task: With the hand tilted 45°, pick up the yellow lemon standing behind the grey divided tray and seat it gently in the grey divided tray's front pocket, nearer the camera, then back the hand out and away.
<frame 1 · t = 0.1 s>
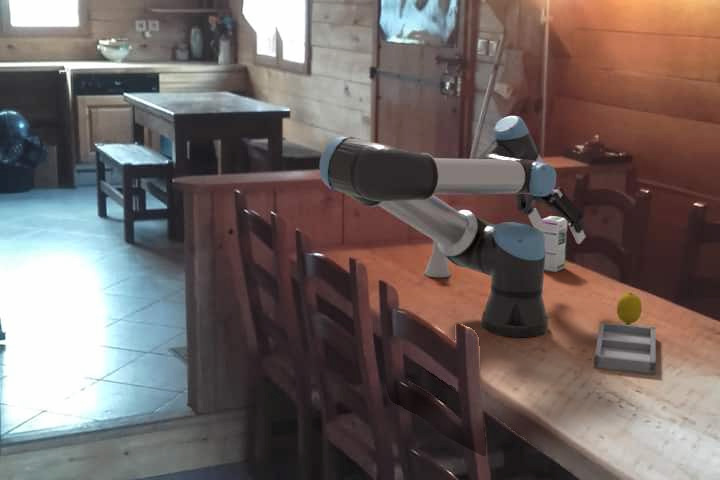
hand: (560, 235, 248), 15 cm above the table, tool tilted 35°, fingers open, 13 cm apart
grey divided tray: (625, 352, 209), on the table
flask: (437, 275, 266), on the table
lemon: (627, 325, 227), on the table
syrup box: (551, 269, 274), on the table
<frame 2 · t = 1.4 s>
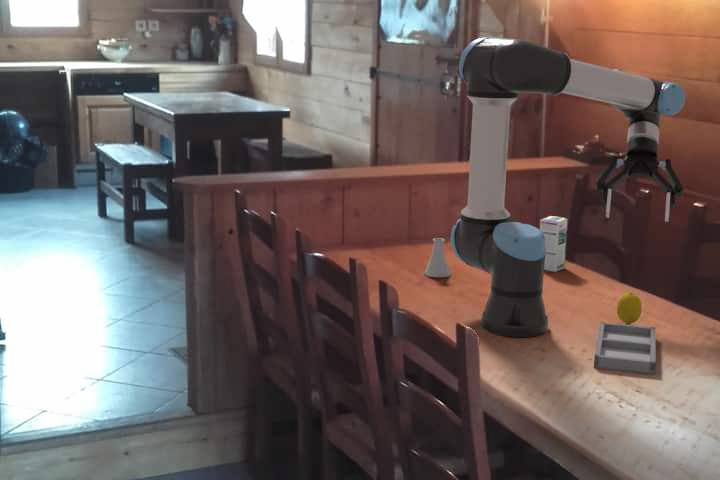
hand: (637, 216, 231), 24 cm above the table, tool tilted 45°, fingers open, 13 cm apart
nothing on the table moved.
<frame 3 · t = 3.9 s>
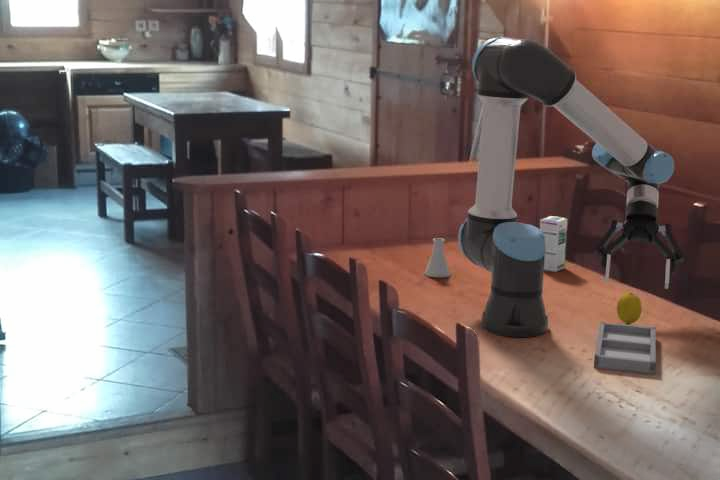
hand: (636, 283, 229), 9 cm above the table, tool tilted 45°, fingers open, 13 cm apart
nothing on the table moved.
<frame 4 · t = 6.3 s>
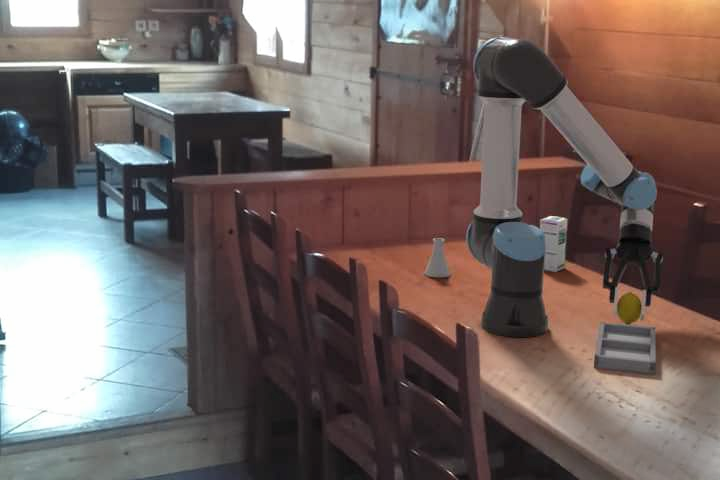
hand: (628, 316, 223), 3 cm above the table, tool tilted 45°, fingers closed on lemon, 5 cm apart
lemon: (627, 325, 227), on the table, touching gripper
everything else where it was.
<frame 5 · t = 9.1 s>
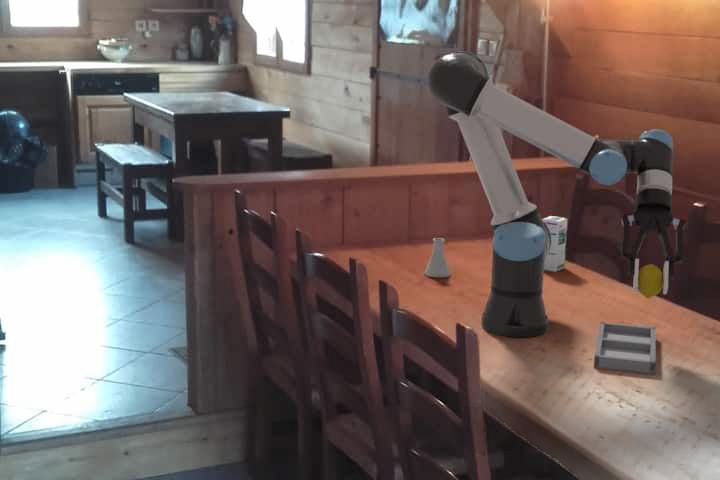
hand: (650, 290, 207), 14 cm above the table, tool tilted 40°, fingers closed on lemon, 5 cm apart
lemon: (647, 299, 211), point 11 cm above the table, touching gripper
everything else where it was.
when the fingers open (6 cm above the table, at t = 11.9 s): lemon drops 2 cm, resting on grey divided tray.
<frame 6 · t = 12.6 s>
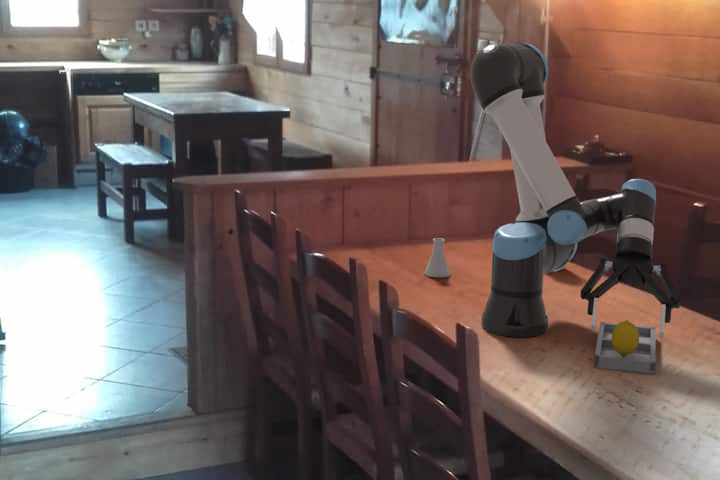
hand: (627, 332, 200), 7 cm above the table, tool tilted 45°, fingers open, 13 cm apart
lemon: (623, 357, 204), point 1 cm above the table, touching grey divided tray
everything else where it was.
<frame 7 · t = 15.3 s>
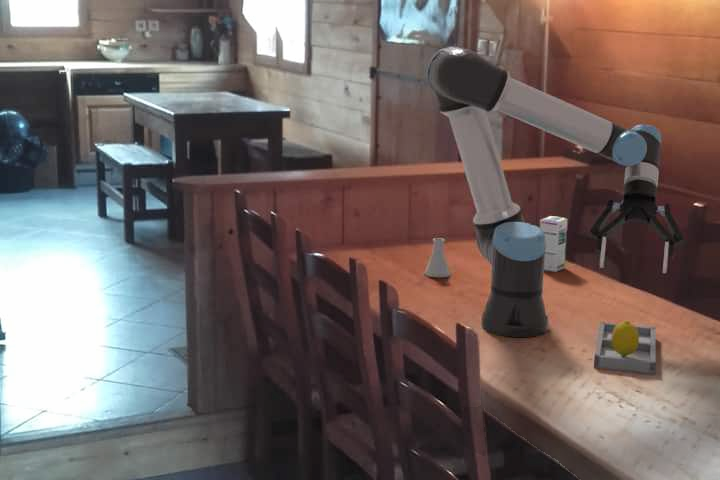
hand: (632, 267, 217), 16 cm above the table, tool tilted 40°, fingers open, 13 cm apart
nothing on the table moved.
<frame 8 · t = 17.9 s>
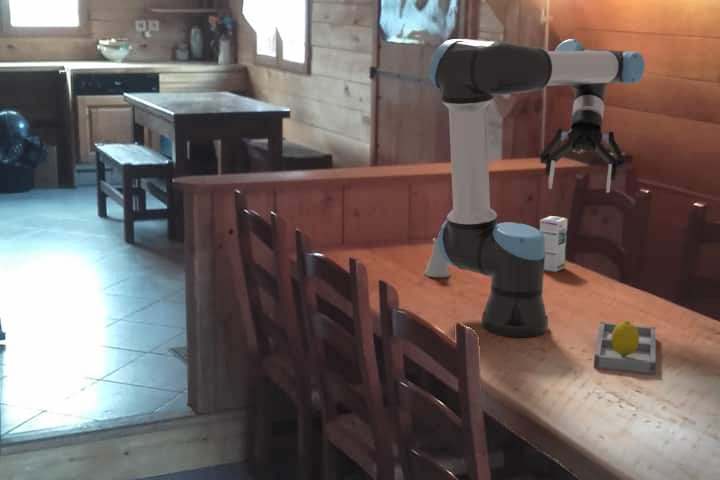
hand: (578, 187, 234), 30 cm above the table, tool tilted 45°, fingers open, 13 cm apart
nothing on the table moved.
at the end: lemon 0.3 cm from the target spot on the grey divided tray, point 0.6 cm above the grey divided tray's base; the gripper is holding nothing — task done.
